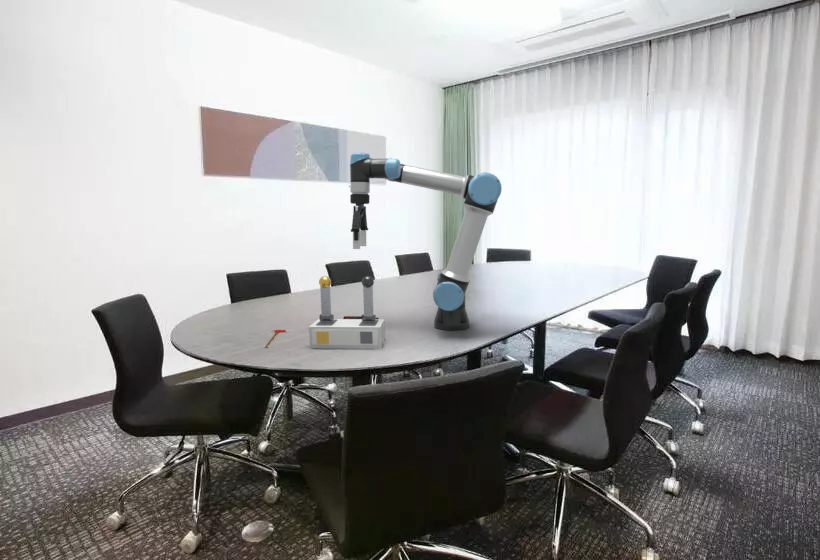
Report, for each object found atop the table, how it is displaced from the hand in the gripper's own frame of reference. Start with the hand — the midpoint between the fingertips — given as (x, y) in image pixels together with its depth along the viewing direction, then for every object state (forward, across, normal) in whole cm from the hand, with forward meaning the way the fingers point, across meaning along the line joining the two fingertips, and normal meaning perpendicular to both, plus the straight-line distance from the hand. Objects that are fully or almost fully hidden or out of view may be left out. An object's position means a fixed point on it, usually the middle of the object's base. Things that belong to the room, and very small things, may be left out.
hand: (359, 247), depth 177 cm
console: (+35, +17, -1) cm, 39 cm away
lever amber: (+26, +17, -9) cm, 33 cm away
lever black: (+26, +17, +7) cm, 31 cm away
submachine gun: (+36, -8, -8) cm, 38 cm away
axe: (+37, +11, -34) cm, 51 cm away
